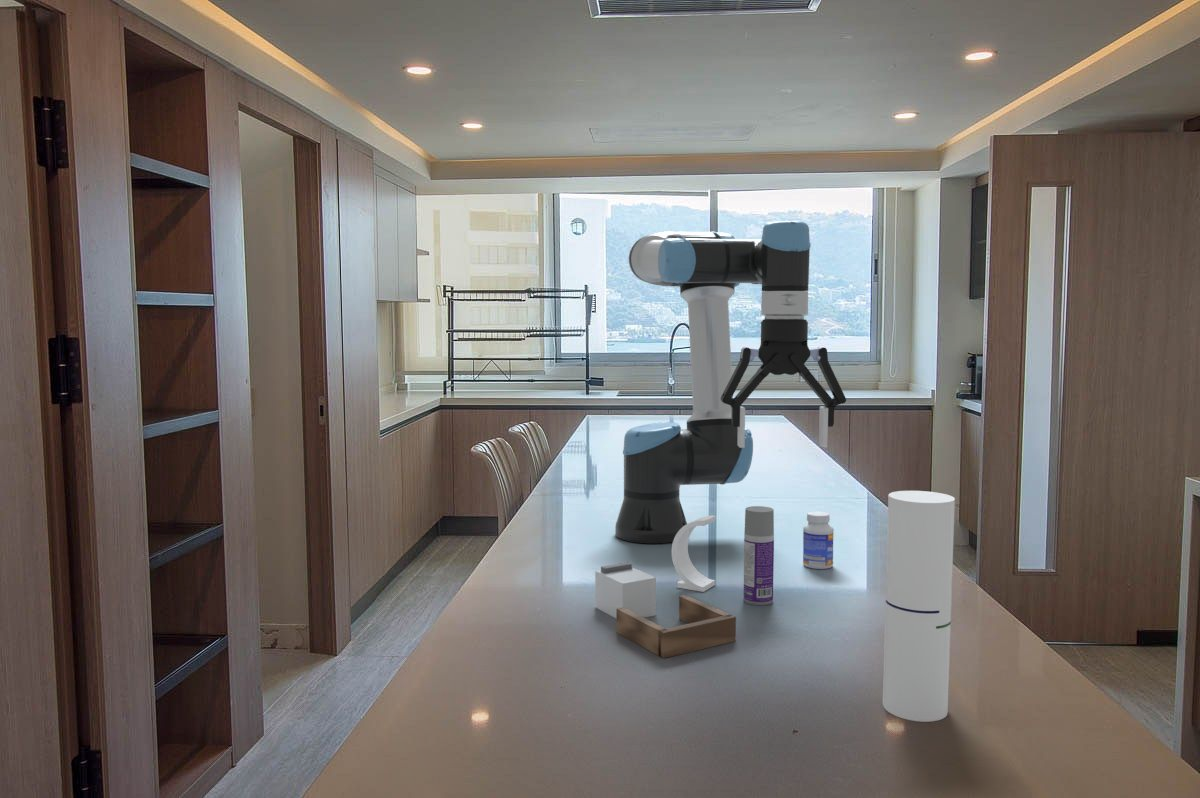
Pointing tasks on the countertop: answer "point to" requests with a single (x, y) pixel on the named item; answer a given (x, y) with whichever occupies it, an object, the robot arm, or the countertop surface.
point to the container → (758, 555)
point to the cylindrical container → (918, 604)
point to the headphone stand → (683, 562)
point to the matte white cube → (625, 590)
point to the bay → (679, 629)
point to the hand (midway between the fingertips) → (781, 446)
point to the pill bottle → (818, 541)
